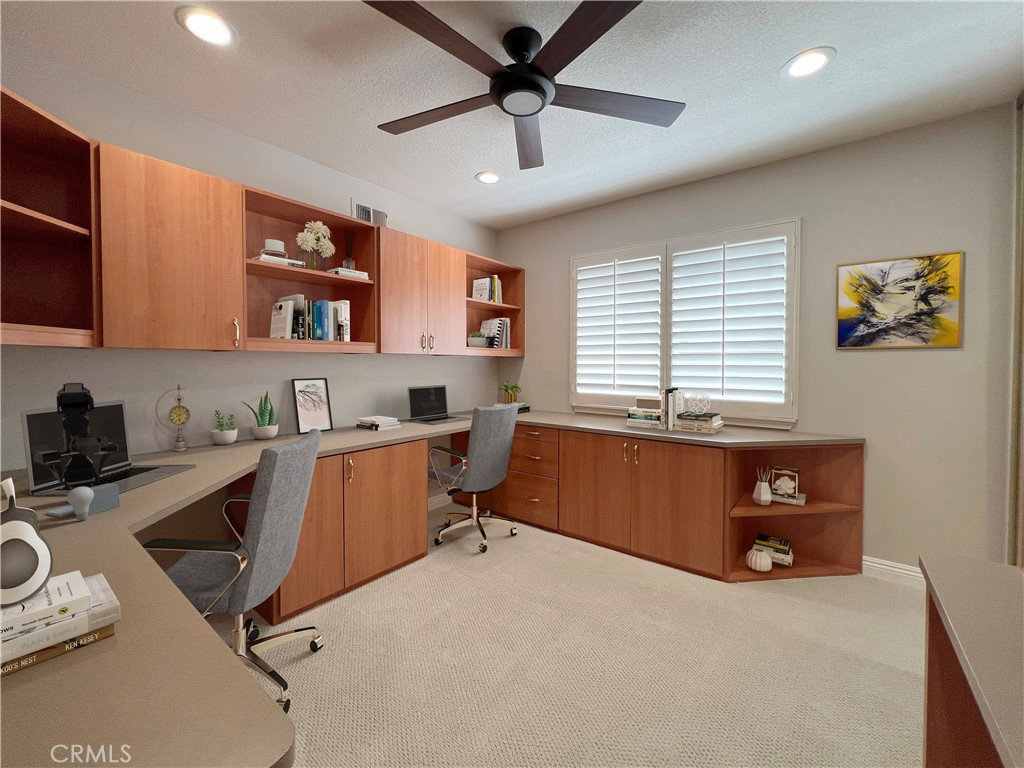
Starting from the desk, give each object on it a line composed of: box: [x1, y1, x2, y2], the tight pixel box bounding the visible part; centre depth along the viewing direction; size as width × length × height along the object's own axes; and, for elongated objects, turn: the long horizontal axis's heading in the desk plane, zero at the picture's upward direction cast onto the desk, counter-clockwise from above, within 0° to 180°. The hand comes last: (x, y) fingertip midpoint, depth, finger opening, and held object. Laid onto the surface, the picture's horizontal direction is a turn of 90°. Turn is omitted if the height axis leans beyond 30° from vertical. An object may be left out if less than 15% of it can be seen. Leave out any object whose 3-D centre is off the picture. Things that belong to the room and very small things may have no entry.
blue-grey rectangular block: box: [73, 482, 121, 516], centre depth 146 cm, size 5×10×8 cm, turn 160°
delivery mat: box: [45, 505, 74, 518], centre depth 146 cm, size 9×9×1 cm
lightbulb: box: [66, 487, 94, 522], centre depth 137 cm, size 6×6×11 cm
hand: (80, 478), depth 137 cm, fingers open, 9 cm apart
